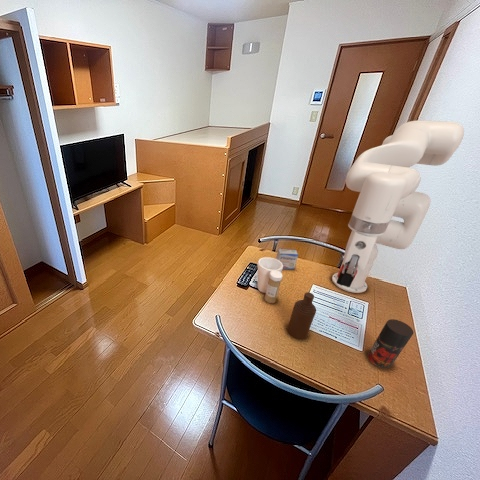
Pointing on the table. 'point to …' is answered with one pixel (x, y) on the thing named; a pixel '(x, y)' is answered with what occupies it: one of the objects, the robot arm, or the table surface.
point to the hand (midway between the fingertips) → (344, 279)
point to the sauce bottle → (302, 317)
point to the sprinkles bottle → (273, 286)
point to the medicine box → (287, 258)
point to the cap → (347, 268)
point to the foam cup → (266, 271)
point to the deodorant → (390, 343)
